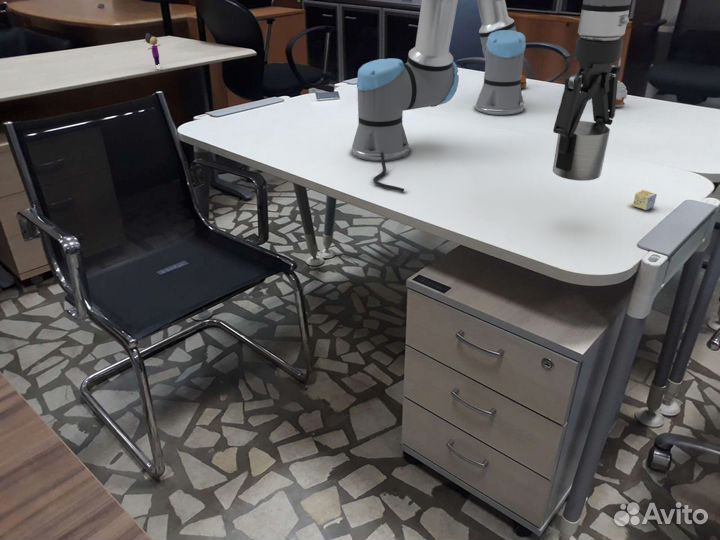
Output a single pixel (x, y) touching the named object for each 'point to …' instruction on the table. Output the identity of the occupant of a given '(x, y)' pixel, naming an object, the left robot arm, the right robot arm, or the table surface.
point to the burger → (523, 81)
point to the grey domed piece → (620, 92)
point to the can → (586, 152)
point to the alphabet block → (644, 200)
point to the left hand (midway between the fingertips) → (577, 162)
